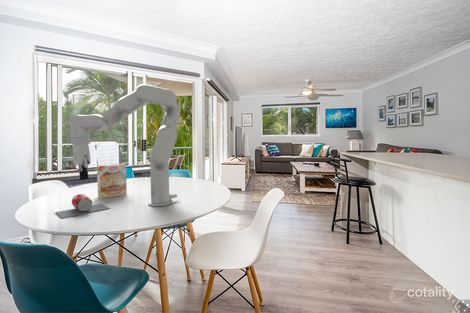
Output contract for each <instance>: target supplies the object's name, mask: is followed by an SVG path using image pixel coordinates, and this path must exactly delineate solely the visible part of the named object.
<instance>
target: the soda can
mask: <svg viewBox="0 0 470 313" xmlns="http://www.w3.org/2000/svg"><path fill="white" fill-rule="evenodd" d="M71 204H72V206H73V207H74V209H75V208H76V209H77V210H78V211H81V212H84V211H87V210H89V209H90V208H91V206H92V205H93V201H92V199H91V198H90V197H89V196H87V195H86V194H84V193H78V194H75V195H74V196H73V197H72V199H71Z"/></svg>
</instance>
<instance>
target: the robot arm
mask: <svg viewBox="0 0 470 313" xmlns="http://www.w3.org/2000/svg"><path fill="white" fill-rule="evenodd" d="M177 101H178V97H177V94H176V93H175V92H174V91H173V90H171V89H168V88H163V87H161V86H154V85H150V84H145V83H142V84H139V85H138V86H136V88H135V90H133V91H132V92H130V93H128V94H126V95H125V96H123V97H121V98H119V99H118V100H116V101H115V103H114V104H113V105H112V106H111V107H110V108H108V110H105V111H104V112H102V113H100V114H97V113H96V114H95V113H94V114H85V115H84V114H73V115H72V114H71V115H69V118H68V120H69V122H68V123H69V130H70V143H71V145H72V156H73V157H72V158H73V159H72V161H73V162H72V163H73V165H75V166H78V174H79V180H80V181H81V180H82V181H83V180H88V179H89V171H88V170H89V169H88V167H89V165H90V164H91V152H90V146H89V145H90V144H91V138H90V130H92V131H99V132H101V131H105V130H106V129H108V128H110V127H112V126H113V125H115V124H117V123H118V122H120V121H122V120H124V119H125V118H127V117H128V116H130V115H131V114H133V113H134V112H136V111H138V110H140V109H141V108H143V107H145V106H146V105H148V104H153V105H159V106H160V107H161V108H162V109H163V117H162V121H161V124H160V126H159V128H158V130H157V132H156V137H155V141H154V143H153V147H152V148H151V149H150V152H149V170H150V172H149V173H150V200H149V201H148V202H147V204H148V206H150V207H164V206H169V205H172V204H173V199H175V198H178V194H177V193H174V194H172V193H170V166H169V164H170V163H169V162H170V159H171V156H172V154H173V151H174V148H175V145H176V142H177V139H178V133H177V129H178V126H179V123H180V119H181V109H180V106H179V104H178V103H177Z"/></svg>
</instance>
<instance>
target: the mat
mask: <svg viewBox="0 0 470 313" xmlns="http://www.w3.org/2000/svg"><path fill="white" fill-rule="evenodd" d="M109 209H111V207H109V206H107V205H105V204H102V203H98V204H92V206H91V208H90V209H89V210H87V211H84V212H81V211H78V210H77V209H76V208H75V207H74V208H71V209H65V210H60V211H55V214H56V215H57V216H58V217H59V218H60V219H68V218H73V217H77V216H82V215H87V214H90V213H96V212H102V211H105V210H109Z"/></svg>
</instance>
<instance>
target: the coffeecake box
mask: <svg viewBox="0 0 470 313" xmlns="http://www.w3.org/2000/svg"><path fill="white" fill-rule="evenodd" d="M96 174H97V176H96V177H97V179H96V180H97V181H96V182H97V197H98V198H99V199H106V198H112V197H113V198H114V197H120V196H126V195H127V164H125V163H112V164H110V163H109V164H96Z"/></svg>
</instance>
